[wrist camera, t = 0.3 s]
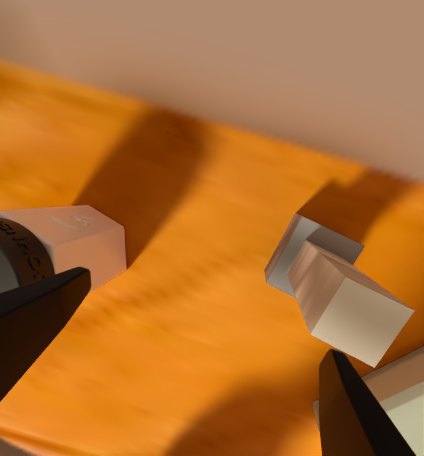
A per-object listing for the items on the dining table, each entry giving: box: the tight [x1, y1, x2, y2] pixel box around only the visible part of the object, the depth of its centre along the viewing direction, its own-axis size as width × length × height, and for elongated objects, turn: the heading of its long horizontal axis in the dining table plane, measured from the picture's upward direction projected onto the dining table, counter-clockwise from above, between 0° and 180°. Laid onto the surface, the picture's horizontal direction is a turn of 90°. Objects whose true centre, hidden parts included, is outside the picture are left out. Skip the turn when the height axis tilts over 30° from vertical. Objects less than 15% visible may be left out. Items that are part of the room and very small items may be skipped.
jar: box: [0, 205, 127, 293], centre depth 21 cm, size 9×8×12 cm
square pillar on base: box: [265, 213, 414, 368], centre depth 17 cm, size 6×5×12 cm
